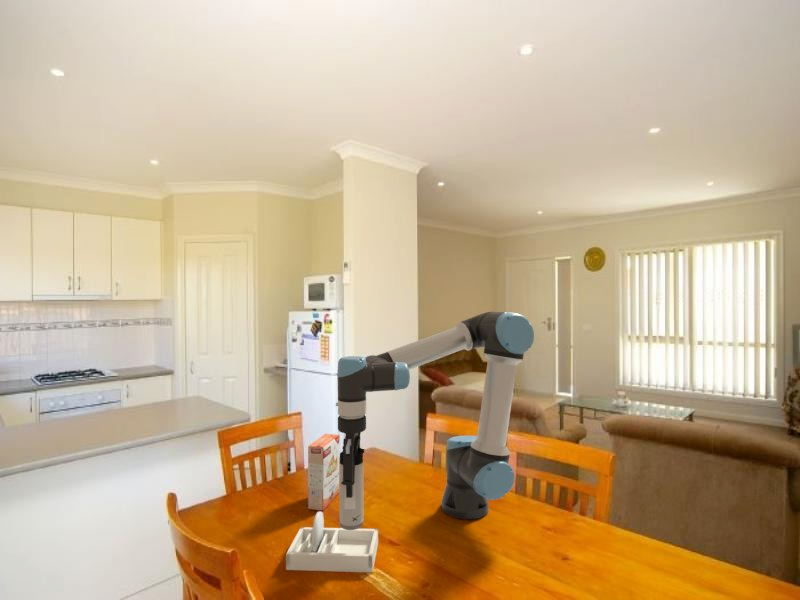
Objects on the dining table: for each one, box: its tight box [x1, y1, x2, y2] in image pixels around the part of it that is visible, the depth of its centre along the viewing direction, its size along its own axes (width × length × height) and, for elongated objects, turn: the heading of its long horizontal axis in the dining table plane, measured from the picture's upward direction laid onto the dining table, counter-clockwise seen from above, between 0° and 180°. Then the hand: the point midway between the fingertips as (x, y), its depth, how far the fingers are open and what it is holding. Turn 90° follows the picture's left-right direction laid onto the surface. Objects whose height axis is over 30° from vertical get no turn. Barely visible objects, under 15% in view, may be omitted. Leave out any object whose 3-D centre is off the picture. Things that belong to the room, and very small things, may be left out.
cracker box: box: [307, 433, 340, 512], centre depth 147 cm, size 14×6×21 cm, turn 166°
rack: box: [285, 511, 379, 573], centre depth 116 cm, size 22×13×11 cm, turn 87°
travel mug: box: [339, 447, 365, 530], centre depth 116 cm, size 6×7×20 cm
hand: (352, 501), depth 116 cm, fingers closed on travel mug, 6 cm apart
